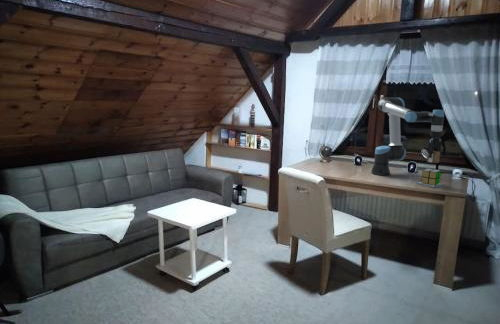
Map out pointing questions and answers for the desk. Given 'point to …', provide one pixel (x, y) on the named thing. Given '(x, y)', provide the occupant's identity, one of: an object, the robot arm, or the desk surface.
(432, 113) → the robot arm
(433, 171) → the puzzle cube
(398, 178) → the desk surface
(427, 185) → the build board
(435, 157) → the walnut block
